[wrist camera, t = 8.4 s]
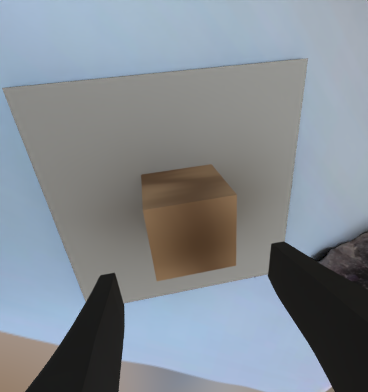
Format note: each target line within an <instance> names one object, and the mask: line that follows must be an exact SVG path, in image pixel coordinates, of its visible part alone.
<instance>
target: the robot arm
mask: <svg viewBox="0 0 368 392" xmlns="http://www.w3.org/2000/svg"><path fill="white" fill-rule="evenodd" d="M268 277H269V279H270V281H271V284H272V286H273V288H274V290H275V292H276V294H277V296H278V297H279V299H280V300H281V302H282V304H283V305H284V307H285V308H286V310H287V311H288V313H289V314H290V316H291V317H292V319H293V320H294V322H295V323H296V325H297V327H298V328H299V330H300V331H301V333H302V334H303V336H304V337H305V339H306V340H307V342H308V343H309V345H310V347H311V348H312V350H313V352H314V353H315V355H316V357H317V359H318V361H319V363H320V364H321V366H322V368H323V370H324V372H325V374H326V376H327V377H328V379H329V381H330V383H331V385H332V387H333V389H334V391H335V392H368V289H366V288H364V287H362V286H360V285H358V284H356V283H354V282H352V281H350V280H349V279H347V278H345V277H343V276H341V275H339V274H337V273H336V272H334V271H332V270H330V269H329V268H327V267H325V266H324V265H322V264H320V263H318V262H317V261H315V260H314V259H312V258H310V257H309V256H307V255H305V254H304V253H302V252H300V251H299V250H297V249H296V248H294V247H292V246H291V245H289V244H287V243H285V242H284V241H283V242H277V243H272V244H271V251H270V260H269V270H268ZM123 339H124V303H123V299H122V296H121V292H120V288H119V285H118V281H117V278H116V274H115V273H110V274H105V275H100V277H99V278H98V280H97V282H96V284H95V286H94V288H93V290H92V292H91V294H90V296H89V297H88V299H87V301H86V303H85V305H84V306H83V308H82V310H81V312H80V313H79V315H78V317H77V318H76V320H75V322H74V324H73V325H72V327H71V328H70V330H69V331H68V333H67V334H66V336H65V338H64V339H63V341H62V342H61V344H60V345H59V347H58V348H57V350H56V351H55V353H54V354H53V356H52V357H51V358H50V360H49V361H48V362H47V364H46V365H45V367H44V368H43V369H42V371H41V372H40V373H39V375H38V376H37V377H36V378H35V380H34V381H33V382H32V384H31V385H30V386H29V387H28V389H27V390H26V391H25V392H118V391H119V379H120V369H121V359H122V349H123Z"/></svg>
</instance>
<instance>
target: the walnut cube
mask: <svg viewBox="0 0 368 392" xmlns="http://www.w3.org/2000/svg"><path fill="white" fill-rule="evenodd" d="M141 183H142V204H143V214H144V219H145V224H146V229H147V234H148V239H149V245H150V250H151V255H152V260H153V265H154V270H155V275H156V280H157V281H162V280H167V279H172V278H177V277H182V276H187V275H192V274H197V273H202V272H207V271H212V270H217V269H222V268H227V267H232V266H236V238H237V194H236V193H235V192H234V191H233V189H232V188H231V187H230V186H229V185H228V183H227V182H226V181H225V180H224V179H223V177H222V176H221V175H220V174H219V173H218V171H217V170H216V169H215V168H214V167H213V165H212V164H209V165H202V166H196V167H189V168H182V169H176V170H169V171H162V172H155V173H149V174H142V175H141Z"/></svg>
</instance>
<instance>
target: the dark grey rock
mask: <svg viewBox="0 0 368 392" xmlns="http://www.w3.org/2000/svg"><path fill="white" fill-rule="evenodd" d="M318 263H320V264H322V265H324V266H325V267H327V268H329V269H330V270H332V271H334V272H336V273H337V274H339V275H341V276H343V277H345V278H347V279H349V280H350V281H352V282H354V283H356V284H358V285H360V286H362V287H364V288H366V289H368V233H364V234H362V235H360V236H359V237H357V238H356V239H354V240H352V241H350V242H347V243H344V244H341V245H339V246H338V247H336V248H335V249H331V250H330V251H329V252H328V254H327V255H326V257H324V258H323V259H322V260H321V261H319V262H318Z"/></svg>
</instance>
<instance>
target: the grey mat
mask: <svg viewBox="0 0 368 392" xmlns="http://www.w3.org/2000/svg"><path fill="white" fill-rule="evenodd" d="M307 61H308V58H307V59H296V60H286V61H276V62H266V63H255V64H245V65H235V66H224V67H214V68H204V69H194V70H183V71H173V72H163V73H153V74H142V75H132V76H122V77H111V78H101V79H91V80H81V81H70V82H60V83H50V84H39V85H29V86H19V87H9V88H2V89H3V92H4V94H5V97H6V99H7V102H8V104H9V107H10V110H11V112H12V115H13V117H14V120H15V122H16V125H17V127H18V130H19V132H20V135H21V138H22V140H23V143H24V145H25V148H26V150H27V153H28V155H29V158H30V161H31V163H32V166H33V168H34V171H35V173H36V176H37V178H38V181H39V184H40V186H41V189H42V191H43V194H44V196H45V199H46V201H47V204H48V207H49V209H50V212H51V214H52V217H53V219H54V222H55V224H56V227H57V230H58V232H59V235H60V237H61V240H62V242H63V245H64V247H65V250H66V253H67V255H68V258H69V260H70V263H71V265H72V268H73V270H74V273H75V275H76V278H77V281H78V283H79V286H80V288H81V291H82V293H83V296H84V298H85V301H87V299H88V297H89V296H90V294H91V292H92V290H93V288H94V286H95V284H96V282H97V280H98V278H99V277H100V275H105V274H110V273H115V274H116V278H117V281H118V285H119V288H120V292H121V296H122V299H123V303H128V302H133V301H138V300H143V299H148V298H153V297H158V296H163V295H168V294H172V293H177V292H182V291H187V290H192V289H197V288H202V287H207V286H212V285H217V284H222V283H227V282H232V281H237V280H242V279H247V278H252V277H257V276H262V275H267V274H268V270H269V260H270V251H271V244H272V243H277V242H283V241H284V242H285V234H286V226H287V218H288V210H289V202H290V195H291V187H292V179H293V171H294V163H295V155H296V148H297V140H298V132H299V124H300V116H301V108H302V101H303V93H304V85H305V77H306V69H307ZM209 164H212V165H213V167H214V168H215V169H216V170H217V171H218V173H219V174H220V175H221V176H222V177H223V179H224V180H225V181H226V182H227V183H228V185H229V186H230V187H231V188H232V189H233V191H234V192H235V193H236V194H237V238H236V266H232V267H227V268H222V269H217V270H212V271H207V272H202V273H197V274H192V275H187V276H182V277H177V278H172V279H167V280H162V281H157V280H156V275H155V270H154V265H153V260H152V255H151V250H150V245H149V239H148V234H147V229H146V224H145V219H144V214H143V204H142V183H141V175H142V174H149V173H155V172H162V171H169V170H176V169H182V168H189V167H196V166H202V165H209Z"/></svg>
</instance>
